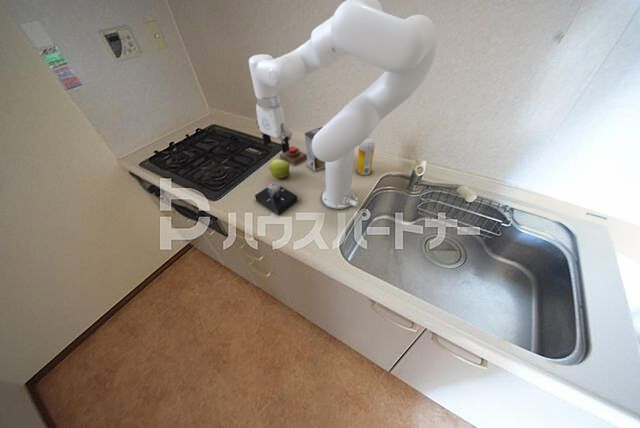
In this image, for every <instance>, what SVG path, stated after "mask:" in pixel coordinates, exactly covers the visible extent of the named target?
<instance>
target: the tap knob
mask: <svg viewBox="0 0 640 428" xmlns="http://www.w3.org/2000/svg"><path fill="white" fill-rule="evenodd" d="M280 186H281V185H280V183H279V182H278V181H276V180H273V181H269V182H268V183H267V185H266V188H267V187H268V190H269V194H270V197H271V198H272V199H277V198H280V197H281V190H280Z"/></svg>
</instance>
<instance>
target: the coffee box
mask: <svg viewBox="0 0 640 428" xmlns="http://www.w3.org/2000/svg"><path fill="white" fill-rule="evenodd" d="M321 128H323V126H320V127H317V128H315V129H312V130H309V131H307V132H305V133H304V137H305V148H306V149H305V150H306V157H307V158H306V159H307V166H308V167H309V168H310V169H311V170H313V172H314V173H315V172H318V171H320V170H322V169H325V162H323V161H321V160H319V159H318V158H316V156H315V155H314V153H313V151H312V140H313V137H314V136H315V134H316V133H317V132H318V131H319V130H320V129H321Z"/></svg>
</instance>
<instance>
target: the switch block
mask: <svg viewBox="0 0 640 428" xmlns="http://www.w3.org/2000/svg"><path fill="white" fill-rule="evenodd" d="M279 159H281V160H284V161H286V162H288V163H289V164H291V165H292V166H297V165H298V164H300V163H302V162H303V161H305V160H306V159H307V153H304V152H302V151H301V150H300V149H299V148H298V147H296V153H289V150H288V151H287V152H285V153H283V152H282V153H280V154H279Z"/></svg>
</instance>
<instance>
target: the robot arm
mask: <svg viewBox="0 0 640 428" xmlns="http://www.w3.org/2000/svg"><path fill="white" fill-rule="evenodd" d="M380 3H381V2H380V1H379V0H344V1H343V2H342V3H341V4H340V5H339V6H338V7H337V8H336V10H335V11H334V14H333V15H332V16H331V17H330V18H328V19H327V20H325V21H323V22H322V23H320V24H319V25H318V26H316V27H315V28H314V29H313V30H312V31H311V34H310V38H309V39H308V40H307V41H305V42H304V43H303V44H301V45H300V46H299V47H297V48H295V49H294V50H292V51H290V52H288V53H286V54H283V55H282V56H279V57H276V58H274V57H273V56H272V55H270V54H265V53H264V54H262V53H261V54H260V53H259V54H254V55H252V56H250V57H249V58H248V67H249V72H250V76H251V81H252V87H253V91H254V95H255V99H256V104H255V105H256V106H255V107H256V120H255V124H256V125H257V129H258V130H259V131H260V135H261V136H262V140H263V145H264V146H268V145H269V144H271V143H272V139H271V138H275V139H279V140H280V141H281V143H280V147H281V152H282V153H285V152H287V151H288V150H289V147H290V142H289V141H290V140H291V139H292V135H293V131H291V129H289V127H288V126H287V122H286V117H285V114H284V109H283V107H282V104H281V98H280V91H279V90H285V89H287V88H289V87H291V86H292V85H294V84H295V83H297V82H299V81H301V80H302V79H304V78H306V77H307V76H309V75H311V74H312V73H315V72H316V71H318V70H320V69H321V68H324V67H329V66H332V65H333V64H335V63H336V62H338V61H340V60H342V59H344V58H346V57H348V56H352V57H353V58H356V59H358V60H360V61H362V62H365V63H367V64H369V65H372V66H374V67H377V68H379V69H382V70H383V71H385V72H383V73H382V74H381V75H380V76H379V77H378V78H377V79H376V80H375V81H374V82H373V83H372V84H370V85H369V86H368V87H367V88H366V89H365V90H364V91H363V92H361V93H360V94H359V95H357V96H356V97H353V99H351V100H350V101H349V102H348V103H347V104H346V105H345V106H344V107H342V108H341V110H340V111H339V112H338V113H336V115H335V116H333V117H332V118H330V120H328V121H327V122H326V123H325V124H324V125H323V126H322V127H323V128H321V129H320V130H319V131H318V132H317V133H316V134H315V136H314V137H313V140H312V151H313V153H314V155H315V156H316V158H318V159H319V160H321V161H323V162H325V168H324V169H325V171H324V172H325V190H324V191H323V193H322V196H321V197H322V198H321V199H322V202H323V204H324V205H325V206H326V207H328V208H330V209H335V210H343V209H346V208H347V209H348V208H349V207H351V206H353V207H355V208H357V207H358V205H359V201H360V197H358V196H356V195H355V192H354V191H355V190H354V189H352V185H353V169H354V168H353V167H354V156H355V150H356V148H357V147H359V145H360V144H361V143H362V142H363V141H364V140H366V139H367V138H368V137H370V135H371V134H372V133H373V132H374V131H375V129H376V127H377V126H378V125H379V123H380V122H381V121H382V120H383V119H385V118H386V117H387V115H389V114H390V113H392V112H393V111H395V110H396V109H397V108H398V107H399V106H400V105H402V104H403V103H404V102H406V101H407V100H408V99H409V98H410V97H411V96H412V95H414V94H415V92H416V91H417V90H418V89H419V88H420V86H421V85H422V84H423V82H424V81H425V80H426V78H427V76H428V74H429V72H430V71H431V68H432V66H433V64H434V62H435V57H436V52H437V45H438V44H437V29H436V26H435V24H434V22H433V20H432V18H430V17H428V16H427V15H424V14H414V15H411V16H409V17H407V18H405V19H404V18H401V17H398V16H396V15H393V14H390V13H387V12H384V11H383V7H382V5H381V4H380Z"/></svg>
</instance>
